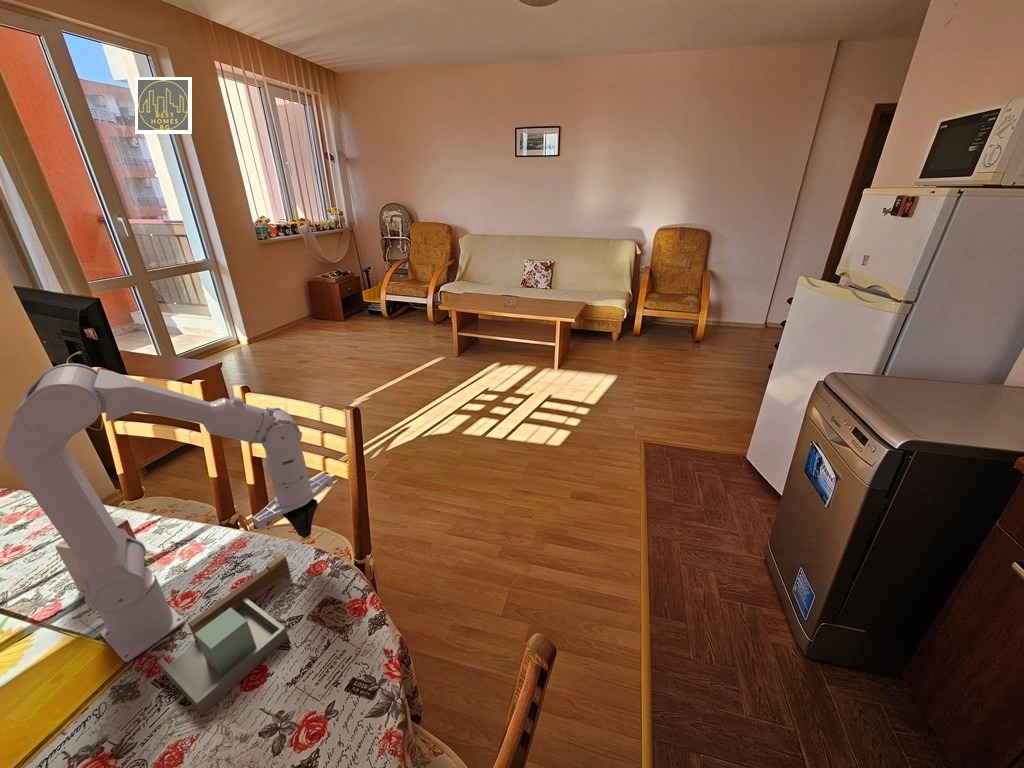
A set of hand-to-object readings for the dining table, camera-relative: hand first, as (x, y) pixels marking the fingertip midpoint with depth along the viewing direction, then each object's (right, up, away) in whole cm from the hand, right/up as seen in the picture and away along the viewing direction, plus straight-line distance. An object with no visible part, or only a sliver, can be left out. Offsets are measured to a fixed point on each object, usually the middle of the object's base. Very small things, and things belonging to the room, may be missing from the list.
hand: (304, 534), depth 80 cm
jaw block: (-3, -12, -16) cm, 21 cm away
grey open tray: (-4, -13, -16) cm, 21 cm away
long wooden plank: (-6, -9, -8) cm, 13 cm away
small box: (-34, -7, -2) cm, 35 cm away
